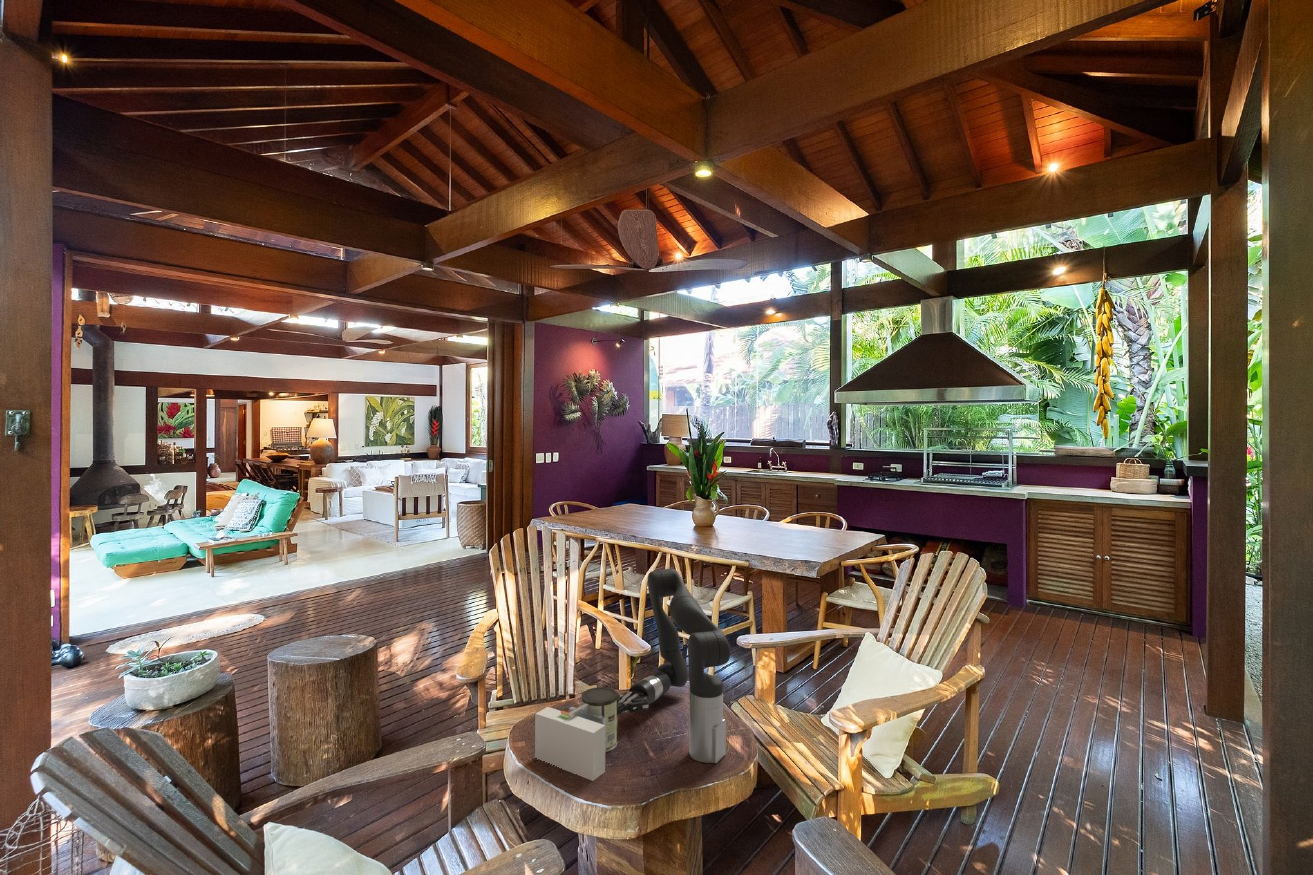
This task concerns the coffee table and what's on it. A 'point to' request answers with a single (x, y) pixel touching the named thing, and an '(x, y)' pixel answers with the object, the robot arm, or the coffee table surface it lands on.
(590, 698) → the coffee can
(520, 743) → the coffee table surface
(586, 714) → the grey t-shaped bracket
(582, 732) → the gauge housing
